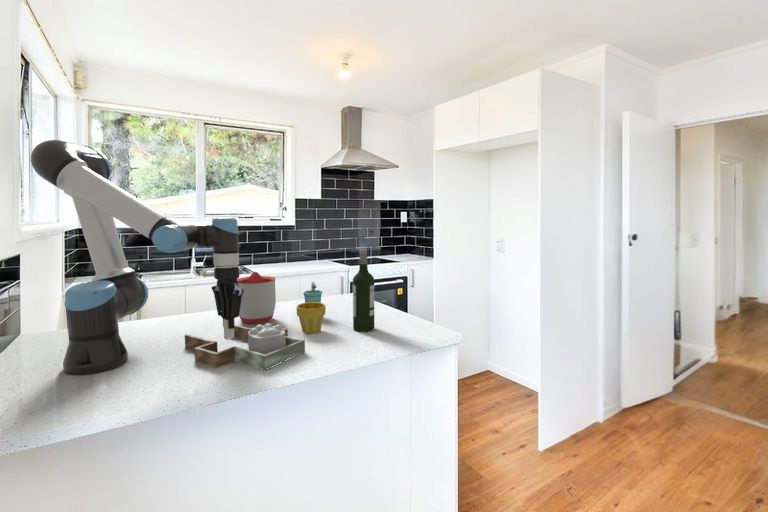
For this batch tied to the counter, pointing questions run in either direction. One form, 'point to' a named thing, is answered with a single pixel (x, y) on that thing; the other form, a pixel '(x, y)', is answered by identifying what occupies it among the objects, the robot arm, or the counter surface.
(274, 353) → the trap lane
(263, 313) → the citrus juicer
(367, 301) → the wine bottle
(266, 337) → the lumpy-topped squat cylinder
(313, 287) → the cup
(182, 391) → the counter surface
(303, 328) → the plant pot
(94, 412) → the counter surface
